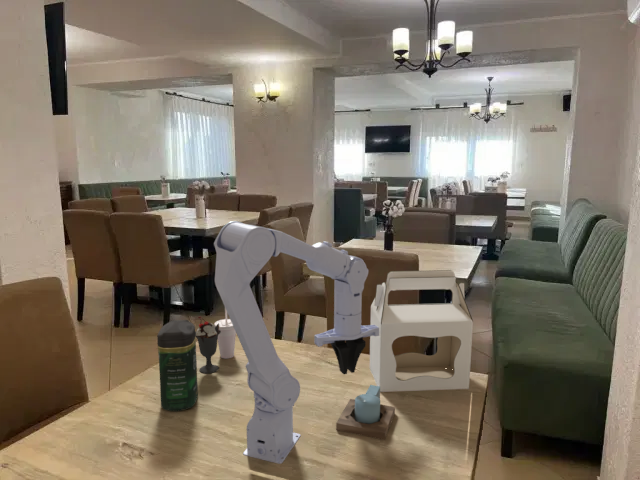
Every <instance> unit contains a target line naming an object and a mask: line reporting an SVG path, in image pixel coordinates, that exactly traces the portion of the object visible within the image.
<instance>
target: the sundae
mask: <svg viewBox="0 0 640 480" xmlns="http://www.w3.org/2000/svg"><path fill="white" fill-rule="evenodd" d="M197 317H198V318H197V319H199V320H201V319H202V316H201V315H200V316H197ZM203 321H204V323H202V322H200V323H199V324H198V328H197V330H195V336H196V340H197V342H198V349H199V352H200V355H202V356H203V357H204V358H205V359H206V363H205V365H203V366H201V367H199V372H200V373H201V374H204V375H205V374H207V375H208V374H214V373H215V372H217V371H218V370H220V367H219V366H218V365H216V364H213V363H212V357H213V356H214V355H215V354H216V353H217V348H218V335H219V334H220V333H221V331H220V330H219V323H218V324H217V326H216V327H215V326H214V324H213V323H212V322H209V321H207V320H205V319H203Z"/></svg>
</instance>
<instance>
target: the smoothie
mask: <svg viewBox="0 0 640 480" xmlns="http://www.w3.org/2000/svg"><path fill="white" fill-rule="evenodd" d="M224 317H225V318H224V319H219V320H217V321H215V322H214V324H213V325H214V326H215V327H216V326H217V324H218V323H219V330H220V331H221V333H220V334H219V335H218V339H217V346H218V350H219V356H220V357H221V358H222V359H225V360H226V359H231V358H233V357H234V356H235V347H236V346H235V345H236V338H237V337H236V336H237V334H236V331H235V329H234V327H233V324H232V322H231V320H230V318H228V313H227V310H226V308H225V307H224Z"/></svg>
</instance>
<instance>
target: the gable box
mask: <svg viewBox="0 0 640 480" xmlns="http://www.w3.org/2000/svg"><path fill="white" fill-rule="evenodd" d="M456 279H457V276H456V275H455V271H453V270H451V269H450V270H449V269H447V270H444V269H443V270H442V269H441V270H438V269H436V270H434V269H433V270H395V271H394V270H392V271H389V272H387V276H386V279H385V282H382V283H377V284H376V289H375V297H374V299H373V301H372V303H371V305H370V324H369V325H376V326H378V327H379V336H374V335H373V336H369V338H370V339H369V371H370V373H371V375H372V377H373V379H374V382H375V386H380V393H385V392H386V393H387V392H413V391H439V390H442V391H443V390H446V391H447V390H470V380H471V379H470V376H471V360H472V347H473V345H472V343H473V332H474V331H473V328H474V320H473V318H472V315H471V312H470V309H469V308H468V305H467V302H466V299H465V282H459V283H458V282H457V281H456ZM413 290H416V291H417V290H418V291H420V290H450V291H451V303H449V302H447V303H414V304H413V303H411V304H406V303H405V304H388V303H389V294H390V292H391V291H394V292H395V291H413ZM409 336H413V337H414V336H415V337H422V338H431V339H435V338H436V346H437V347H436V348H437V349H436V351H435V352H436V353H434V354H432V355H431V354H429V355H427V354H424V353H419V352H405V353H404V352H403V353H401V354H397V355H395V354H394V351H393V343H394V341H396V339H398V338H401V337H409ZM445 368H447V369H445ZM452 369H453V370H452Z"/></svg>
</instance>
